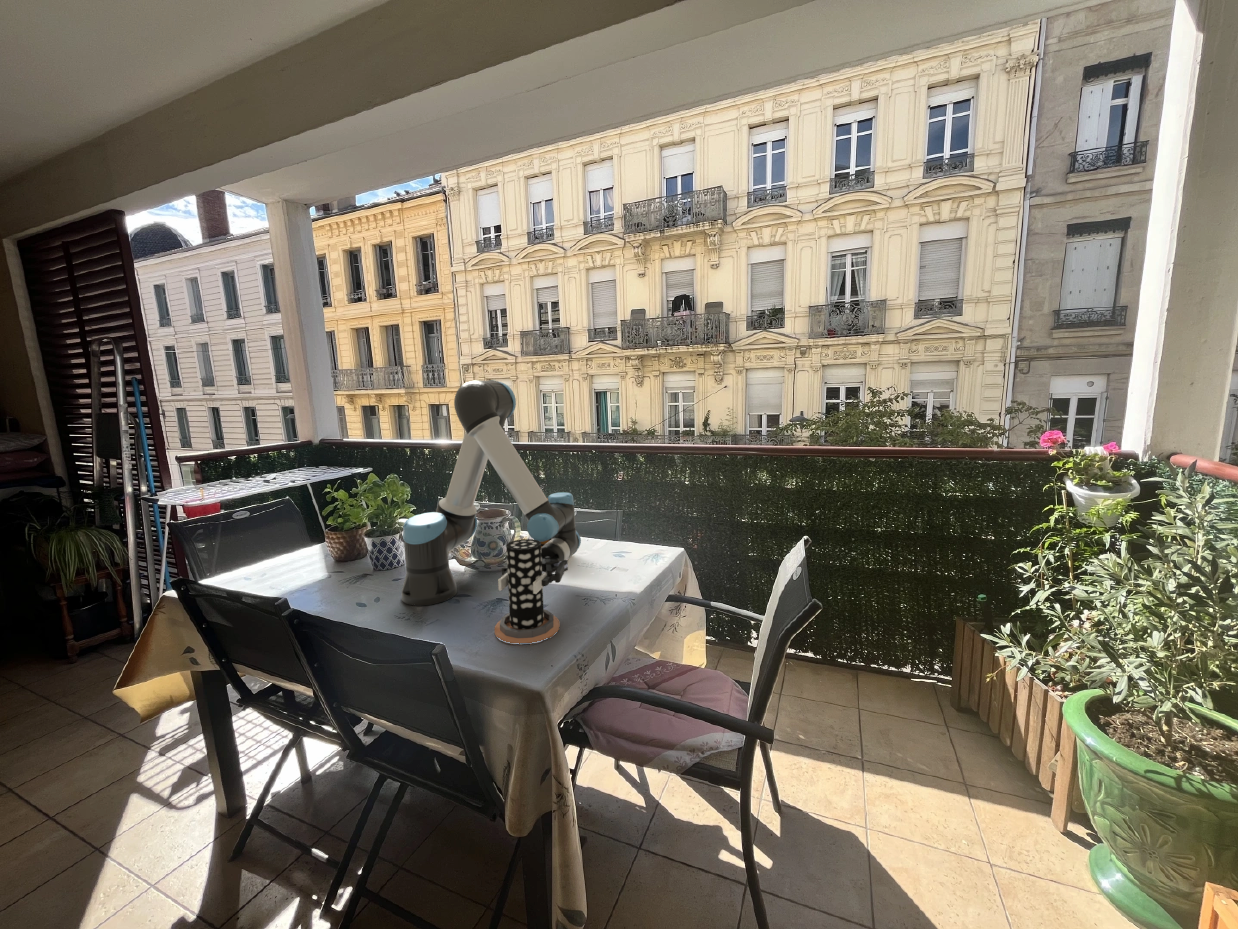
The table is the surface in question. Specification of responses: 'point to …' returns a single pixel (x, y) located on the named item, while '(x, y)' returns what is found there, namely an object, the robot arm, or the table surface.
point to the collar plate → (527, 630)
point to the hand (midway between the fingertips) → (517, 586)
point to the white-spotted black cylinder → (524, 583)
